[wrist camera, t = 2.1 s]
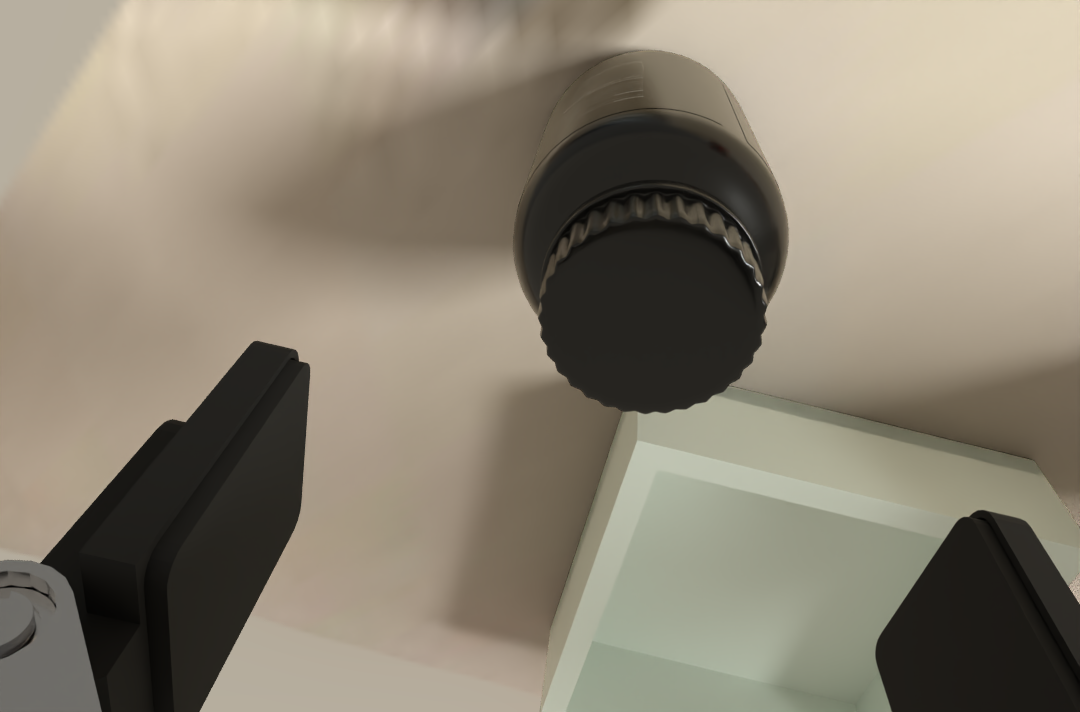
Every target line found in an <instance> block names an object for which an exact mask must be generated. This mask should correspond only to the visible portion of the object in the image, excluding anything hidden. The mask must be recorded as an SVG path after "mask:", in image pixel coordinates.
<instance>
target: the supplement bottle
mask: <svg viewBox="0 0 1080 712" xmlns="http://www.w3.org/2000/svg"><path fill="white" fill-rule="evenodd" d="M788 243H789V229H788V221H787V214H786V210H785V206H784V202H783V199H782V195H781V193H780V190H779V187H778V184H777V182H776V180H775V178H774V175H773V173H772V171H771V169H770V167H769V165H768V163H767V161H766V159H765V157H764V154H763V152H762V150H761V148H760V146H759V144H758V142H757V140H756V138H755V136H754V133H753V131H752V129H751V127H750V125H749V123H748V121H747V119H746V117H745V115H744V113H743V111H742V108H741V107H740V105H739V103H738V101H737V100H736V98H735V97H734V95H733V93H732V92H731V91H730V90H729V88H728V87H727V86H726V85H725V83H724V82H723V81H722V80H721V79H720V78H719V77H718V76H716V75H715V74H714V73H713V72H712V71H710V70H709V69H708V68H706V67H705V66H703V65H701V64H700V63H698V62H696V61H694V60H692V59H690V58H687V57H684V56H682V55H678V54H675V53H671V52H664V51H653V50H646V51H635V52H629V53H625V54H621V55H617V56H615V57H612V58H609V59H607V60H605V61H603V62H601V63H599V64H597V65H595V66H594V67H592V68H590V69H589V70H588V71H586V72H585V73H584V74H582V75H581V76H580V77H579V78H578V79H577V80H576V81H575V82H573V84H572V85H571V86H570V87H569V88H568V89H567V90H566V92H565V93H564V94H563V96H562V97H561V98H560V100H559V101H558V103H557V105H556V107H555V108H554V110H553V112H552V114H551V117H550V119H549V121H548V123H547V126H546V128H545V131H544V134H543V137H542V140H541V143H540V145H539V148H538V151H537V154H536V157H535V160H534V162H533V165H532V168H531V171H530V174H529V177H528V179H527V182H526V185H525V188H524V191H523V194H522V197H521V200H520V203H519V206H518V210H517V215H516V220H515V227H514V235H513V252H514V261H515V266H516V271H517V275H518V278H519V282H520V285H521V287H522V290H523V292H524V294H525V297H526V298H527V300H528V302H529V304H530V306H531V307H532V309H533V310H534V312H535V313H536V315H537V316H538V319H539V322H540V324H541V332H540V336H541V338H542V340H543V342H544V343H545V344H546V345H547V355H548V356H549V357H550V358H551V359H552V360H553V361H554V362H555V364H556V368H557V371H558V372H559V373H560V374H562V375H564V376H565V377H567V379H568V381H569V383H570V385H571V386H573V387H575V388H577V389H580V390H581V391H582V392H583V393H584V395H585V396H586V397H588V398H591V399H595V400H598V401H599V402H600V403H601V404H602V405H604V406H607V407H616V408H618V409H619V410H621V411H623V412H631V411H636V412H639V413H642V414H649V413H652V412H659V413H669V412H671V411H673V410H675V409H677V410H686V409H688V408H690V407H691V406H693V405H694V404H699V403H705V402H707V401H708V400H709V399H710V398H711V397H712V396H713V395H716V394H719V393H722V392H724V391H725V390H726V389H727V387H728V386H729V384H730V383H732V382H734V381H736V380H738V379H740V377H741V375H742V371H743V370H744V369H745V368H746V367H748V366H749V365H750V364H751V363H752V362H753V355H754V353H755V352H756V351H757V350H758V348H759V347H760V346H761V344H762V336H761V334H762V333H763V331H764V330H765V328H766V326H767V320H766V317H765V312H766V308H767V306H768V304H769V303H770V301H771V299H772V298H773V296H774V294H775V292H776V290H777V288H778V285H779V283H780V281H781V278H782V275H783V272H784V268H785V263H786V259H787V253H788Z"/></svg>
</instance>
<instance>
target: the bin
mask: <svg viewBox="0 0 1080 712" xmlns="http://www.w3.org/2000/svg"><path fill="white" fill-rule="evenodd" d="M977 510H986V511H990V512H995V513H999V514H1003V515H1008V516H1012V517H1016V518H1020V519H1022V520H1024V521H1026V522H1027V523H1028V524H1029V525H1030V526H1031V528H1032V529H1033V531H1034V533H1035V534H1036V536H1037V537H1038V539H1039V541H1040V542H1041V544H1042V545H1043V547H1044V549H1045V550H1046V552H1047V553H1048V555H1049V557H1050V558H1051V560H1052V561H1053V563H1054V564H1055V566H1056V568H1057V569H1058V571H1059V572H1060V574H1061V576H1062V577H1063V579H1064V580H1065V582H1066V584H1067V585H1068V586H1069V585H1070V584H1071V582H1072V581H1073V580H1074V579H1075V577H1076V576H1077V575H1078V574H1079V573H1080V528H1079V526H1078V525H1077V523H1076V522H1075V520H1074V519H1073V517H1072V516H1071V514H1070V513H1069V511H1068V510H1067V508H1066V507H1065V506H1064V504H1063V503H1062V501H1061V500H1060V498H1059V497H1058V495H1057V494H1056V492H1055V491H1054V489H1053V488H1052V486H1051V485H1050V483H1049V482H1048V481H1047V479H1046V478H1045V476H1044V475H1043V473H1042V472H1041V470H1040V469H1039V467H1038V466H1037V464H1036V463H1035V461H1034V460H1030V459H1026V458H1022V457H1018V456H1014V455H1010V454H1006V453H1001V452H997V451H993V450H989V449H985V448H981V447H977V446H973V445H969V444H965V443H961V442H957V441H953V440H948V439H944V438H940V437H936V436H932V435H928V434H924V433H920V432H916V431H912V430H908V429H904V428H899V427H895V426H891V425H887V424H883V423H879V422H875V421H871V420H867V419H863V418H859V417H855V416H851V415H846V414H842V413H838V412H834V411H830V410H826V409H822V408H818V407H814V406H810V405H806V404H802V403H798V402H793V401H789V400H785V399H781V398H777V397H773V396H769V395H765V394H761V393H757V392H753V391H749V390H745V389H740V388H736V387H732V386H728V387H727V389H726V390H725V391H724V392H722V393H719V394H716V395H713V396H712V397H711V398H710V399H709V400H708V401H707V402H705V403H699V404H694V405H693V406H691V407H690V408H688V409H686V410H677V409H675V410H673V411H671V412H669V413H659V412H652V413H649V414H642V413H639V412H636V411H631V412H622V415H621V418H620V421H619V424H618V427H617V430H616V433H615V436H614V439H613V442H612V445H611V448H610V451H609V454H608V457H607V460H606V463H605V466H604V469H603V472H602V475H601V478H600V481H599V484H598V487H597V490H596V493H595V496H594V499H593V502H592V505H591V508H590V511H589V514H588V517H587V520H586V523H585V526H584V529H583V532H582V535H581V538H580V541H579V544H578V547H577V550H576V553H575V556H574V559H573V562H572V565H571V568H570V571H569V574H568V577H567V580H566V583H565V586H564V589H563V592H562V595H561V598H560V601H559V604H558V607H557V610H556V613H555V616H554V619H553V622H552V625H551V629H550V636H549V644H548V652H547V659H546V667H545V675H544V683H543V690H542V698H541V706H540V712H892V711H891V708H890V704H889V701H888V698H887V695H886V692H885V689H884V686H883V683H882V679H881V676H880V673H879V670H878V667H877V663H876V659H875V650H876V644H877V640H878V638H879V636H880V634H881V633H882V631H883V630H884V628H885V627H886V625H887V624H888V623H889V621H890V620H891V618H892V617H893V615H894V614H895V612H896V611H897V609H898V608H899V606H900V605H901V603H902V602H903V600H904V599H905V597H906V596H907V594H908V593H909V591H910V590H911V588H912V587H913V585H914V584H915V583H916V581H917V580H918V578H919V577H920V575H921V574H922V572H923V571H924V569H925V568H926V566H927V565H928V563H929V562H930V560H931V559H932V557H933V556H934V554H935V553H936V551H937V550H938V548H939V547H940V545H941V544H942V543H943V541H944V540H945V538H946V537H947V535H948V534H949V532H950V531H951V529H952V528H953V526H954V525H955V523H956V522H957V521H958V520H959V519H960V518H962V517H969V516H970V515H971V514H972V513H974V512H976V511H977Z"/></svg>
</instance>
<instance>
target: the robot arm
mask: <svg viewBox="0 0 1080 712" xmlns="http://www.w3.org/2000/svg"><path fill="white" fill-rule="evenodd" d="M309 381H310V366H309V364H308V363H304V362H299V357H298V352H297V351H296V350H294V349H290V348H285V347H281V346H277V345H273V344H268V343H264V342H260V341H254V342H253V343H252V344H251V345H250V346H249V347H248V348H247V349H246V350H245V352H244V353H243V354H242V355H241V356H240V358H239V359H238V360H237V361H236V362H235V364H234V365H233V366H232V367H231V368H230V370H229V371H228V372H227V373H226V375H225V376H224V377H223V378H222V379H221V381H220V382H219V383H218V384H217V385H216V387H215V388H214V389H213V390H212V391H211V393H210V394H209V395H208V396H207V397H206V399H205V400H204V401H203V402H202V403H201V405H200V406H199V407H198V408H197V410H196V411H195V412H194V413H193V414H192V416H191V417H190V418H189V419H188V420H187V422H182V421H177V420H173V419H172V420H169V421H166V422H164V423H163V424H162V425H161V426H160V427H159V428H158V429H157V430H156V431H155V432H154V433H153V434H152V436H151V437H150V438H149V439H148V440H147V441H146V442H145V444H144V445H143V446H142V447H141V448H140V449H139V450H138V452H137V453H136V454H135V455H134V456H133V457H132V458H131V460H130V461H129V462H128V463H127V464H126V465H125V467H124V468H123V469H122V470H121V471H120V472H119V473H118V475H117V476H116V477H115V478H114V479H113V480H112V481H111V483H110V484H109V485H108V486H107V487H106V488H105V489H104V491H103V492H102V493H101V494H100V495H99V496H98V498H97V499H96V500H95V501H94V502H93V503H92V504H91V506H90V507H89V508H88V509H87V510H86V511H85V512H84V514H83V515H82V516H81V517H80V518H79V519H78V520H77V522H76V523H75V524H74V525H73V526H72V527H71V529H70V530H69V531H68V532H67V533H66V534H65V535H64V537H63V538H62V539H61V540H60V541H59V542H58V543H57V545H56V546H55V547H54V548H53V549H52V550H51V552H50V553H49V554H48V555H47V556H46V557H45V558H44V560H43V561H42V562H41V563H37V562H33V561H22V560H4V561H0V712H199V711H200V710H201V708H202V706H203V704H204V702H205V700H206V698H207V696H208V694H209V692H210V690H211V688H212V687H213V685H214V683H215V681H216V679H217V677H218V675H219V673H220V671H221V669H222V667H223V665H224V664H225V661H226V660H227V657H228V656H229V654H230V652H231V650H232V648H233V646H234V644H235V642H236V640H237V639H238V637H239V635H240V633H241V631H242V629H243V627H244V625H245V623H246V621H247V619H248V617H249V616H250V614H251V612H252V610H253V608H254V606H255V604H256V602H257V600H258V598H259V596H260V594H261V592H262V591H263V589H264V587H265V585H266V583H267V581H268V579H269V577H270V575H271V573H272V571H273V569H274V568H275V566H276V564H277V562H278V560H279V558H280V556H281V554H282V552H283V550H284V548H285V546H286V544H287V543H288V541H289V539H290V537H291V535H292V533H293V531H294V529H295V526H296V524H297V521H298V517H299V514H300V509H301V499H302V484H303V470H304V455H305V440H306V425H307V411H308V396H309ZM875 659H876V663H877V667H878V670H879V673H880V676H881V679H882V683H883V686H884V689H885V692H886V695H887V698H888V701H889V704H890V708H891V711H892V712H1080V604H1079V603H1078V601H1077V600H1076V598H1075V596H1074V595H1073V593H1072V592H1071V590H1070V588H1069V587H1068V585H1067V584H1066V582H1065V580H1064V579H1063V577H1062V576H1061V574H1060V572H1059V571H1058V569H1057V568H1056V566H1055V564H1054V563H1053V561H1052V560H1051V558H1050V557H1049V555H1048V553H1047V552H1046V550H1045V549H1044V547H1043V545H1042V544H1041V542H1040V541H1039V539H1038V537H1037V536H1036V534H1035V533H1034V531H1033V529H1032V528H1031V526H1030V525H1029V524H1028V523H1027V522H1026V521H1024V520H1022V519H1020V518H1016V517H1012V516H1008V515H1003V514H999V513H995V512H990V511H986V510H977V511H976V512H974V513H972V514H971V515H970V516H969V517H962V518H960V519H959V520H958V521H957V522H956V523H955V525H954V526H953V528H952V529H951V531H950V532H949V534H948V535H947V537H946V538H945V540H944V541H943V543H942V544H941V545H940V547H939V548H938V550H937V551H936V553H935V554H934V556H933V557H932V559H931V560H930V562H929V563H928V565H927V566H926V568H925V569H924V571H923V572H922V574H921V575H920V577H919V578H918V580H917V581H916V583H915V584H914V585H913V587H912V588H911V590H910V591H909V593H908V594H907V596H906V597H905V599H904V600H903V602H902V603H901V605H900V606H899V608H898V609H897V611H896V612H895V614H894V615H893V617H892V618H891V620H890V621H889V623H888V624H887V625H886V627H885V628H884V630H883V631H882V633H881V634H880V636H879V638H878V640H877V644H876V650H875Z"/></svg>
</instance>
